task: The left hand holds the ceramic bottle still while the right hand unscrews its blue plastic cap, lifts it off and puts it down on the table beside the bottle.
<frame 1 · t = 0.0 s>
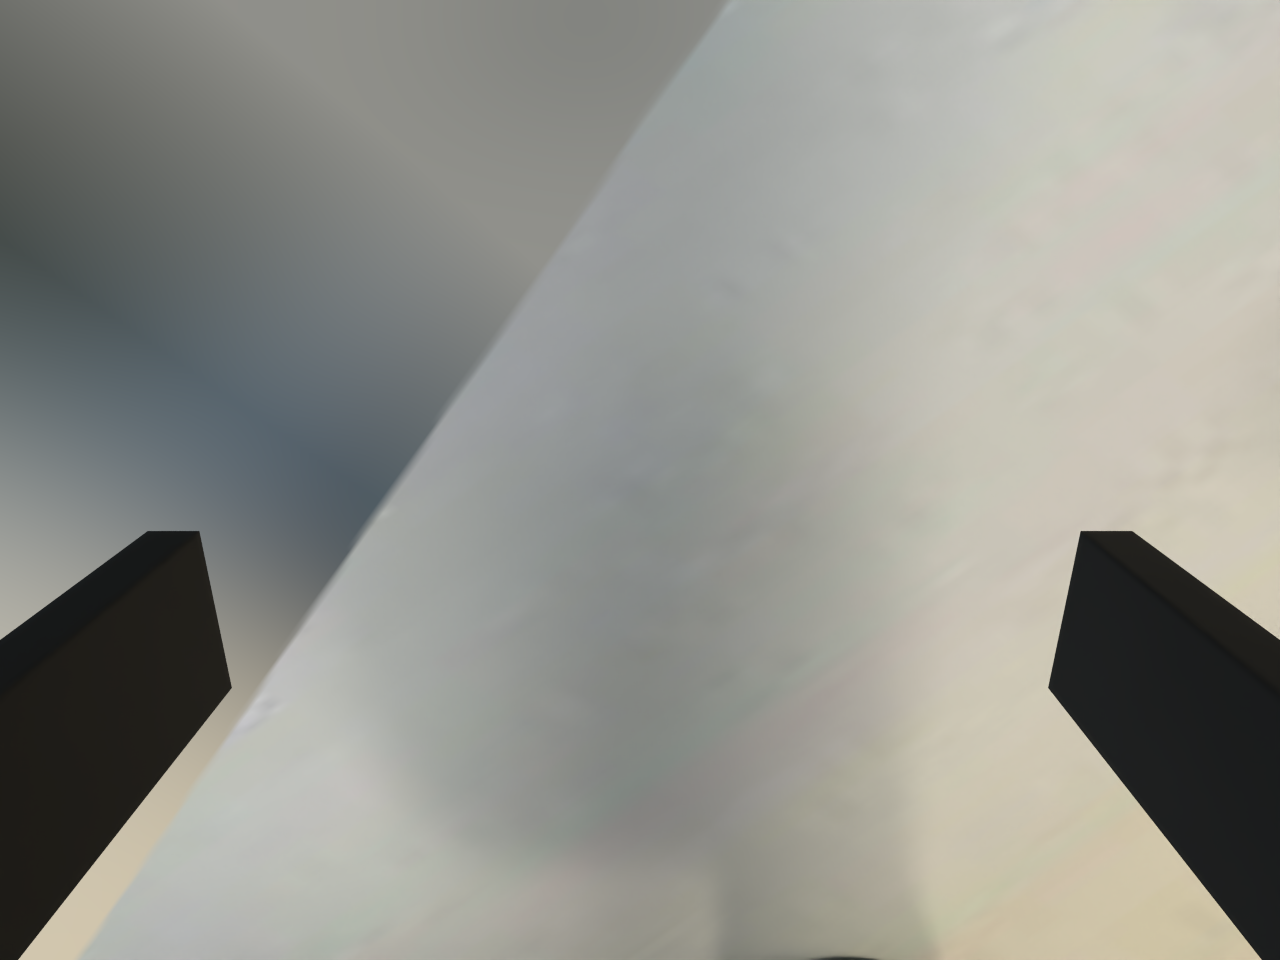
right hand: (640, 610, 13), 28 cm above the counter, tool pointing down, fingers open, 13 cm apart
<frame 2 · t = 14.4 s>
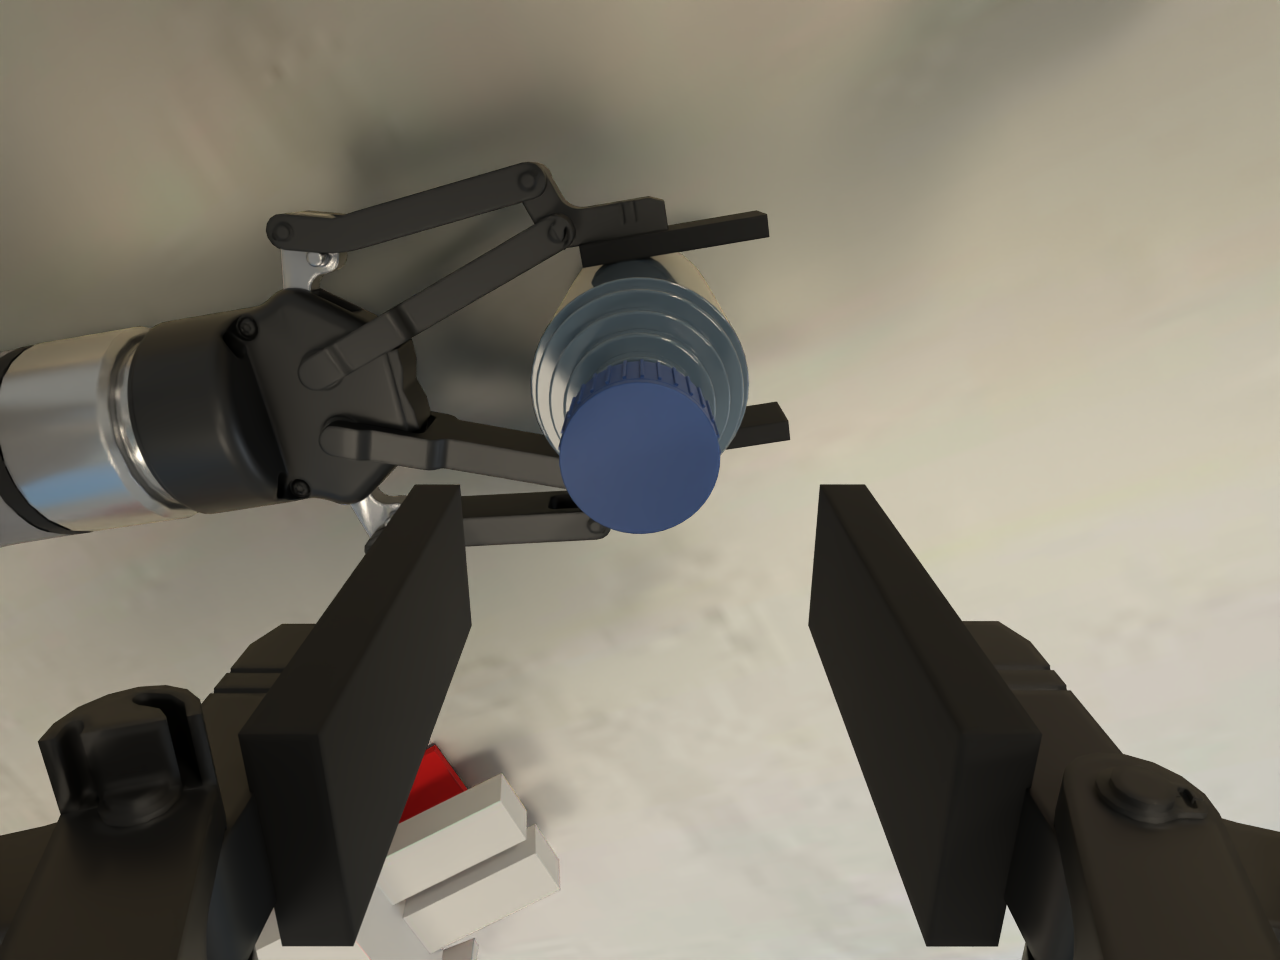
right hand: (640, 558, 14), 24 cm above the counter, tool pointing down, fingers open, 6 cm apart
left hand: (772, 325, 31), fingers closed on bottle, 7 cm apart
toy: (311, 863, 48), on the counter
cap: (639, 456, 19), point 19 cm above the counter, screwed on, not yet turned
bottle: (639, 318, 37), on the counter, touching left hand
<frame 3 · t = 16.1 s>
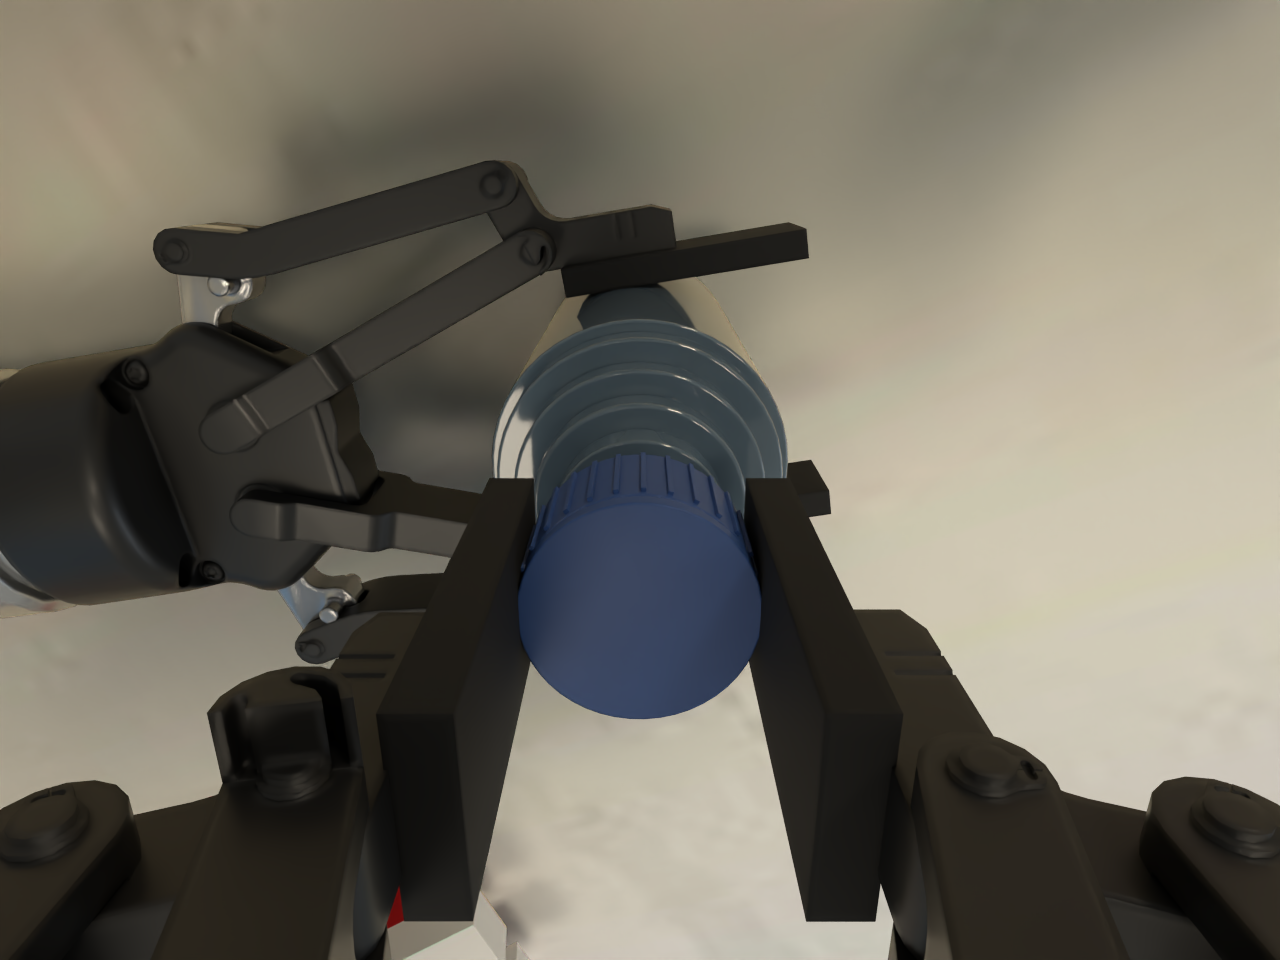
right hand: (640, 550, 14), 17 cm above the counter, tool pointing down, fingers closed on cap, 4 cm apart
left hand: (808, 369, 24), fingers closed on bottle, 7 cm apart
cap: (639, 607, 13), point 19 cm above the counter, screwed on, not yet turned, touching right hand
bottle: (639, 350, 30), on the counter, touching left hand
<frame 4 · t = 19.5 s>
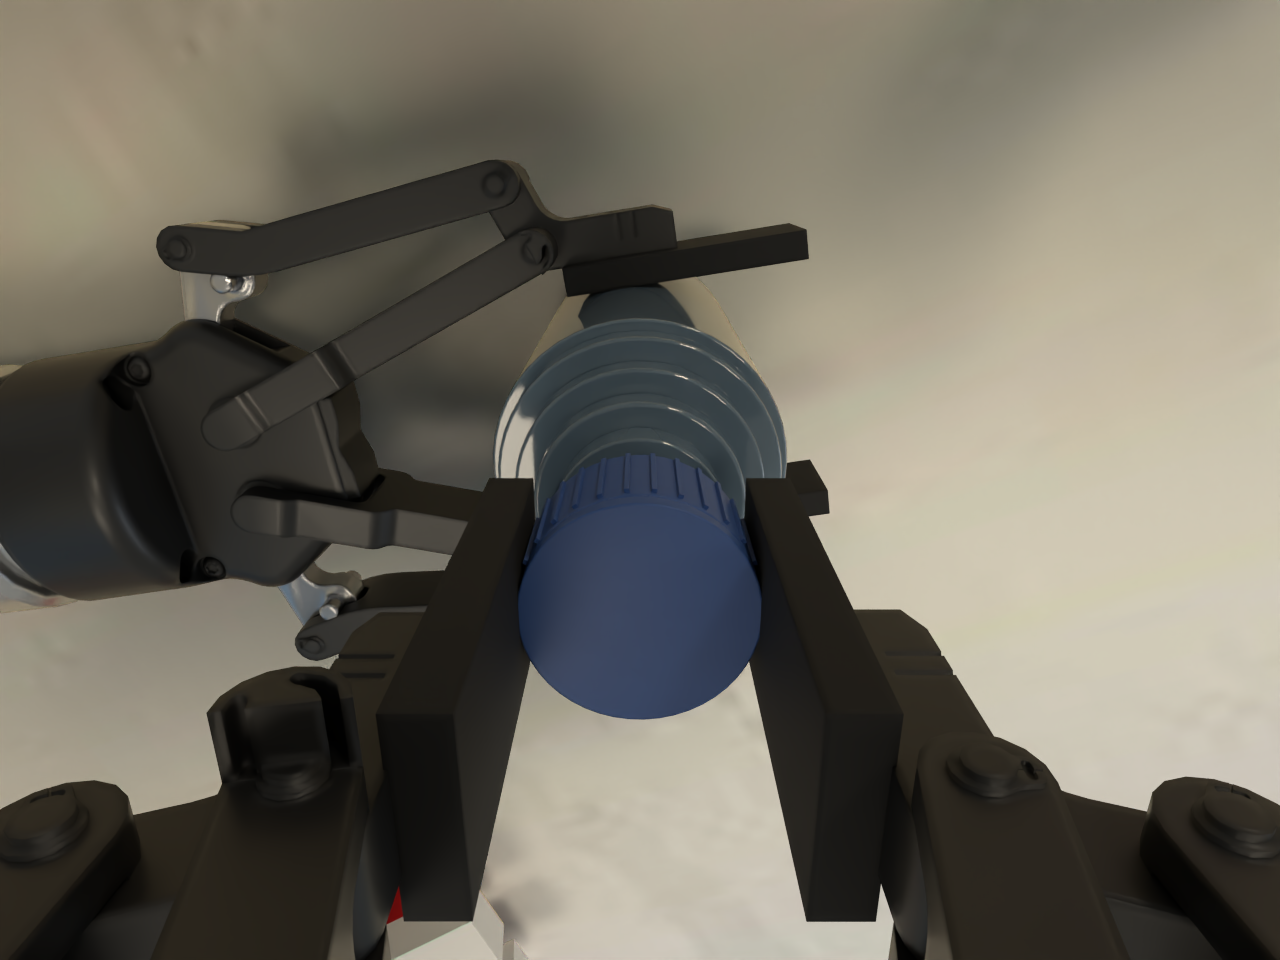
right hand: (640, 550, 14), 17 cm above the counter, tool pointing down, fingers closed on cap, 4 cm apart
left hand: (808, 369, 24), fingers closed on bottle, 7 cm apart
cap: (639, 607, 13), point 19 cm above the counter, turned 120° so far, risen 0.1 cm, still on its thread, touching right hand
bottle: (639, 350, 30), on the counter, touching left hand
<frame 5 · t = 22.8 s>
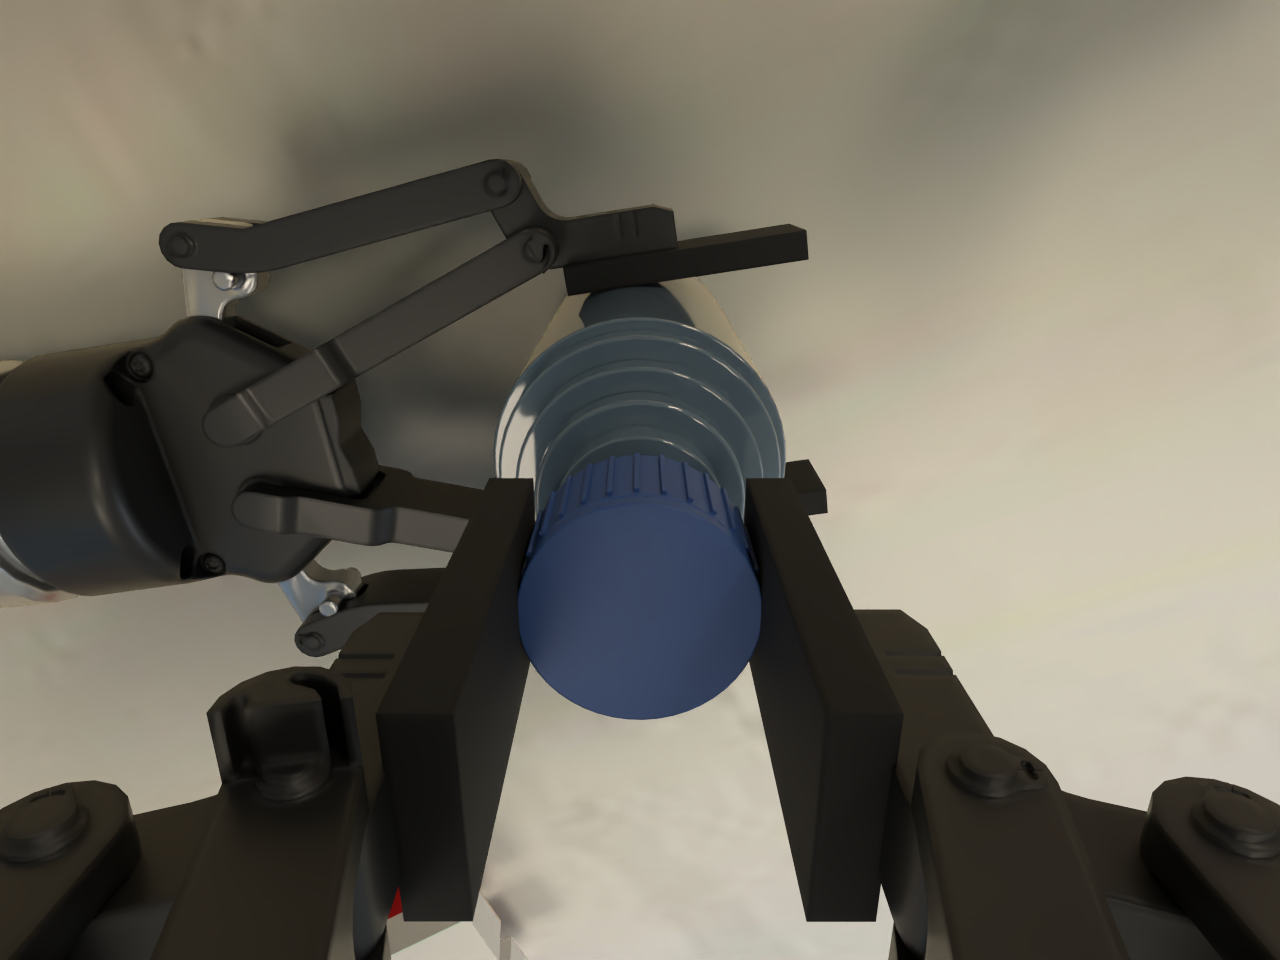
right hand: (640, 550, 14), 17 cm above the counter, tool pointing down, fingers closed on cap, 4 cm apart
left hand: (807, 369, 24), fingers closed on bottle, 7 cm apart
cap: (639, 607, 13), point 19 cm above the counter, turned 239° so far, risen 0.2 cm, still on its thread, touching right hand
bottle: (639, 349, 31), on the counter, touching left hand
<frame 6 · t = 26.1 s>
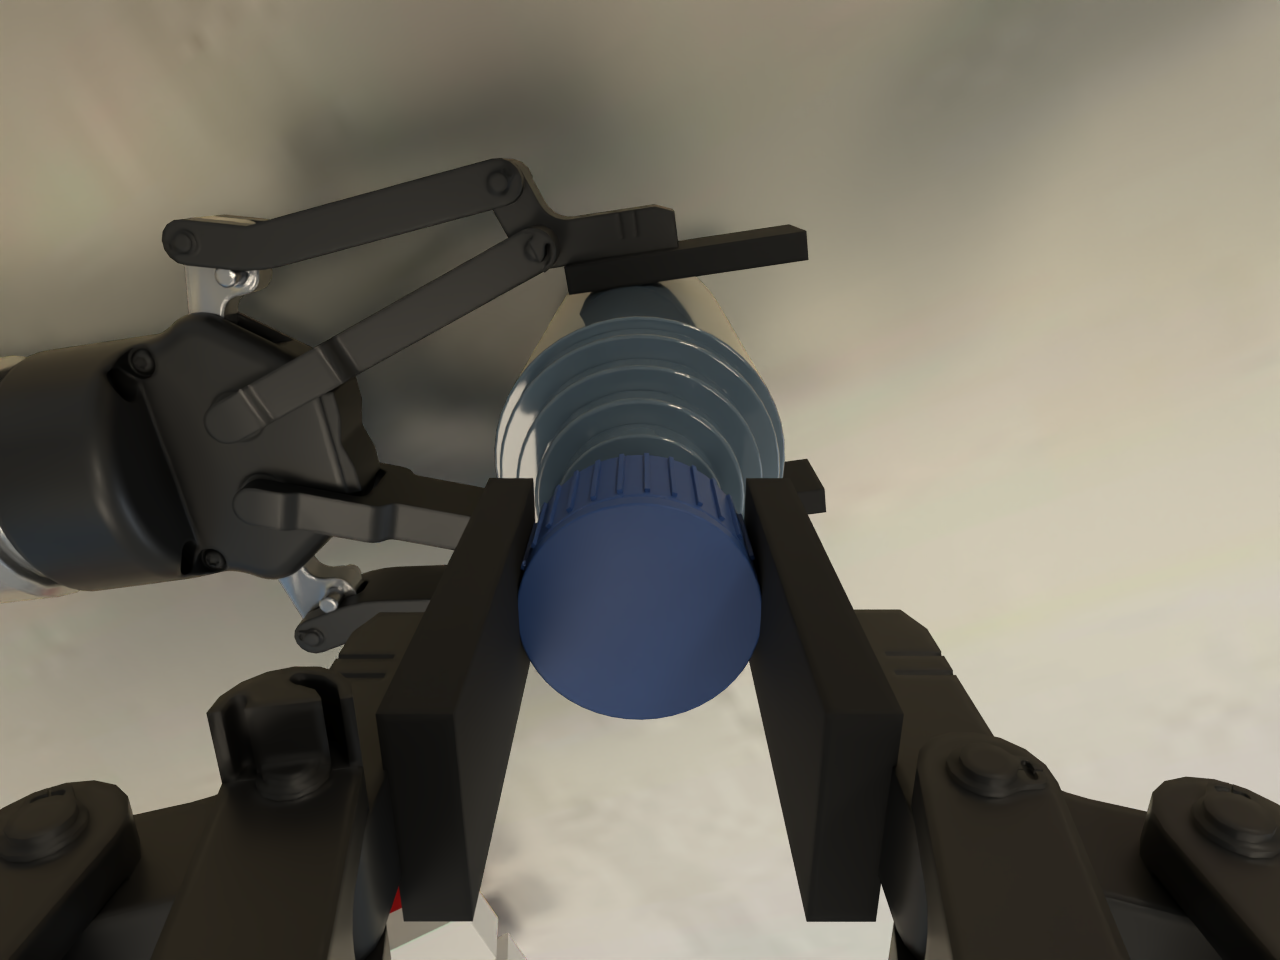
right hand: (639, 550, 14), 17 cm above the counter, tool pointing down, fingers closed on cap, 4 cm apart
left hand: (806, 369, 24), fingers closed on bottle, 7 cm apart
cap: (639, 607, 13), point 19 cm above the counter, turned 359° so far, risen 0.4 cm, still on its thread, touching right hand
bottle: (639, 349, 31), on the counter, touching left hand
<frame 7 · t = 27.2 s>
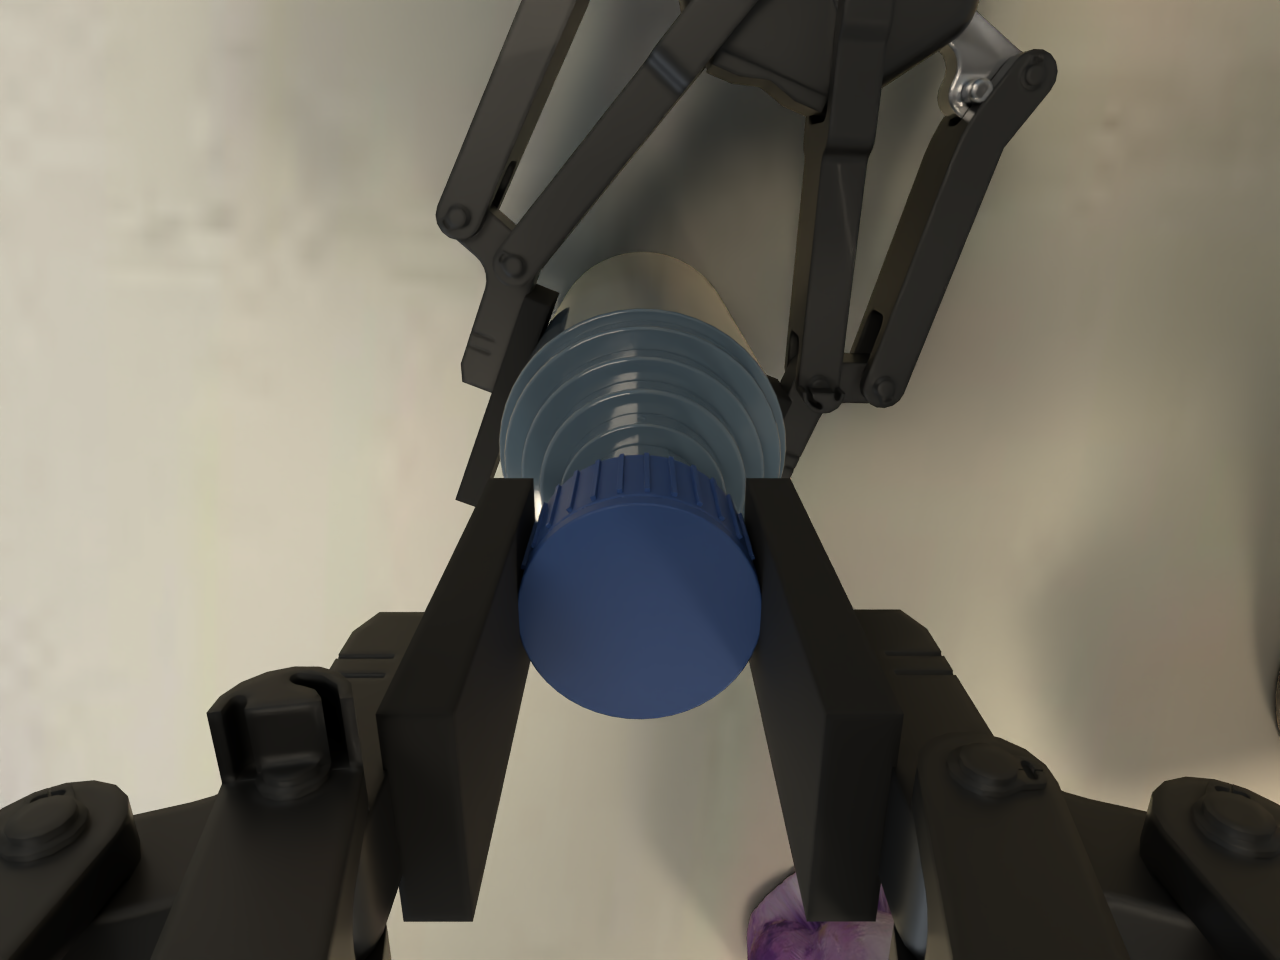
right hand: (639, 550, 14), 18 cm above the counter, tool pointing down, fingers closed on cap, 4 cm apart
left hand: (585, 525, 27), fingers closed on bottle, 7 cm apart
cap: (639, 607, 13), point 20 cm above the counter, off its thread, touching right hand
figurine: (825, 912, 41), on the counter
bottle: (642, 342, 31), on the counter, touching left hand
when the right hand's fingers open (1 cm above the counter, at t = 33.1 s): cap drops 1 cm, point 2 cm above the counter.
when the left hand's fingers open (6 cm above the counter, at t = 34.4 s): bottle stays where it is, on the counter.
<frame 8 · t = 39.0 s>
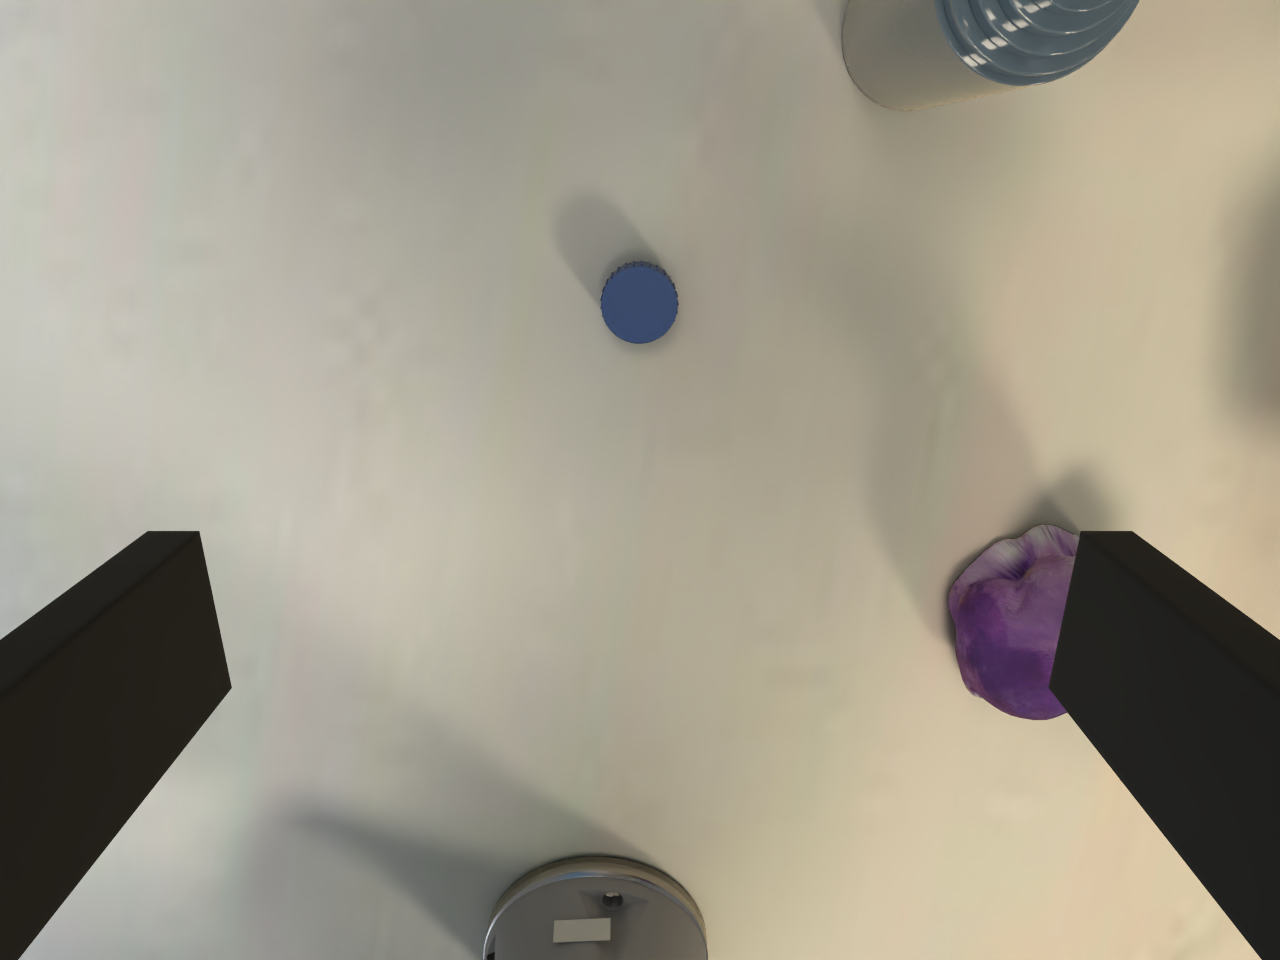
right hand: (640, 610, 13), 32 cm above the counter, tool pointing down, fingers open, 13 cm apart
cap: (639, 304, 40), point 2 cm above the counter, off its thread
figurine: (1014, 587, 48), on the counter
bottle: (914, 31, 38), on the counter
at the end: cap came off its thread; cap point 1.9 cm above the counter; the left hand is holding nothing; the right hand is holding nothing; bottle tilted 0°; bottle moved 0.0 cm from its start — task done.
